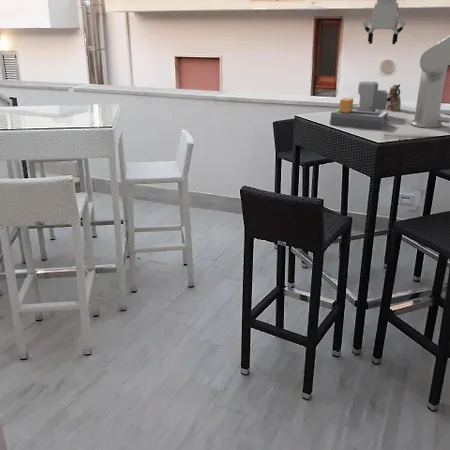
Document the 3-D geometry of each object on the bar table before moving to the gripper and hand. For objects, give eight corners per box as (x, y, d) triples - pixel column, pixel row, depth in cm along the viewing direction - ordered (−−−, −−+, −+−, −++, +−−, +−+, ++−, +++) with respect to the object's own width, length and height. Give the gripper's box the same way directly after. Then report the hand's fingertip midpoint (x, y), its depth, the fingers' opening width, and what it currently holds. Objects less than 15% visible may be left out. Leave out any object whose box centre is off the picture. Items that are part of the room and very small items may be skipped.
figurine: (382, 108, 243) (385, 83, 238) (394, 107, 245) (398, 83, 240) (389, 111, 237) (393, 85, 232) (402, 110, 238) (406, 85, 233)
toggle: (351, 115, 215) (353, 98, 212) (348, 117, 210) (349, 100, 208) (342, 114, 217) (344, 98, 214) (338, 116, 212) (340, 100, 209)
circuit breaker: (388, 118, 223) (392, 84, 217) (356, 117, 226) (359, 83, 220) (387, 114, 230) (390, 81, 224) (355, 114, 232) (358, 81, 226)
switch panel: (387, 124, 212) (388, 111, 210) (381, 129, 203) (382, 116, 201) (337, 119, 222) (338, 107, 219) (329, 124, 213) (330, 112, 211)
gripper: (410, -2, 198) (405, 43, 205) (367, -1, 206) (363, 42, 213) (407, -2, 192) (401, 45, 199) (363, -1, 200) (359, 44, 207)
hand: (382, 43), depth 206 cm, fingers open, 9 cm apart
